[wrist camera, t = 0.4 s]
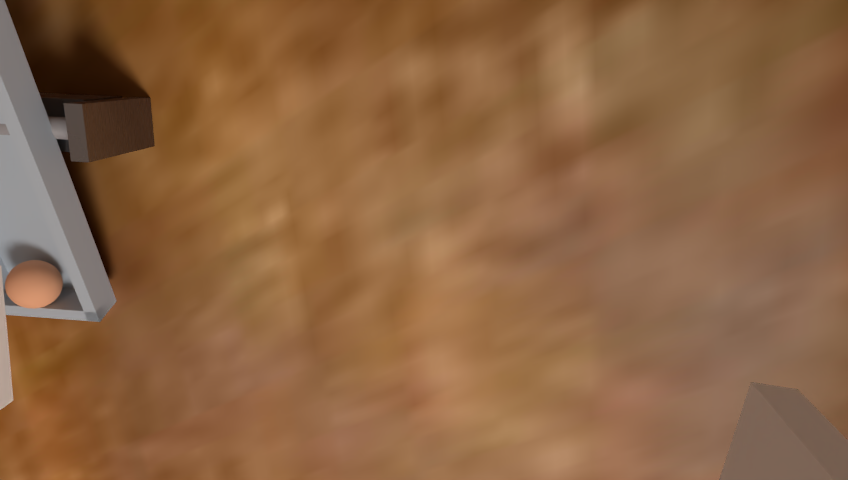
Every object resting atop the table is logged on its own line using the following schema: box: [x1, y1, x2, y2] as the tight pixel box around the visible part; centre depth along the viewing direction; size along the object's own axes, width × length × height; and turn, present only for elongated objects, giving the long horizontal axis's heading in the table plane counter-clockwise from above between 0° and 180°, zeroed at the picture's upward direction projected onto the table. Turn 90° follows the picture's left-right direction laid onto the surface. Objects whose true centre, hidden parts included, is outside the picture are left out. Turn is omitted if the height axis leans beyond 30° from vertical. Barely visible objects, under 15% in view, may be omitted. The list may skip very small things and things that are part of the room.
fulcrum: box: [39, 92, 154, 162], centre depth 35 cm, size 3×13×7 cm, turn 88°
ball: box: [5, 260, 63, 309], centre depth 37 cm, size 3×3×3 cm
